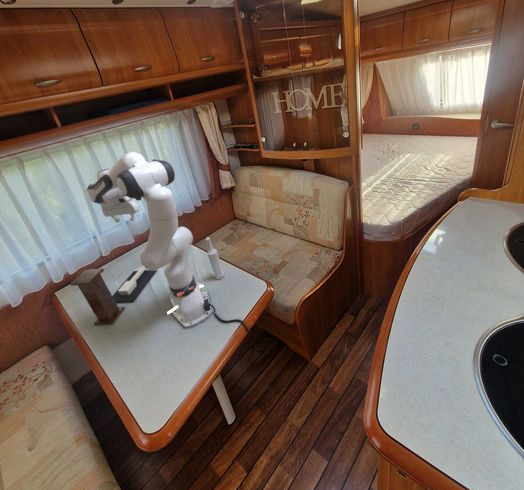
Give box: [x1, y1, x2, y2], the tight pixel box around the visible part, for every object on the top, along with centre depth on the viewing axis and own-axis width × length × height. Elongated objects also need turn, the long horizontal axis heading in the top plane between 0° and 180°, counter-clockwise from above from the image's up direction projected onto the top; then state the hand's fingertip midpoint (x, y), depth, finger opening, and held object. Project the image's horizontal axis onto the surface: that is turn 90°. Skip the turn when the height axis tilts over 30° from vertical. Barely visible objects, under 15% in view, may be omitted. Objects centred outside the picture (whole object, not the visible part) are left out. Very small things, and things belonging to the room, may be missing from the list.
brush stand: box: [69, 267, 125, 325], centre depth 132 cm, size 10×10×26 cm
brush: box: [117, 265, 147, 295], centre depth 158 cm, size 22×6×3 cm, turn 171°
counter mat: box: [112, 269, 158, 304], centre depth 156 cm, size 26×16×1 cm, turn 172°
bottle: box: [205, 236, 225, 281], centre depth 144 cm, size 5×5×25 cm
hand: (125, 221), depth 150 cm, fingers open, 8 cm apart
